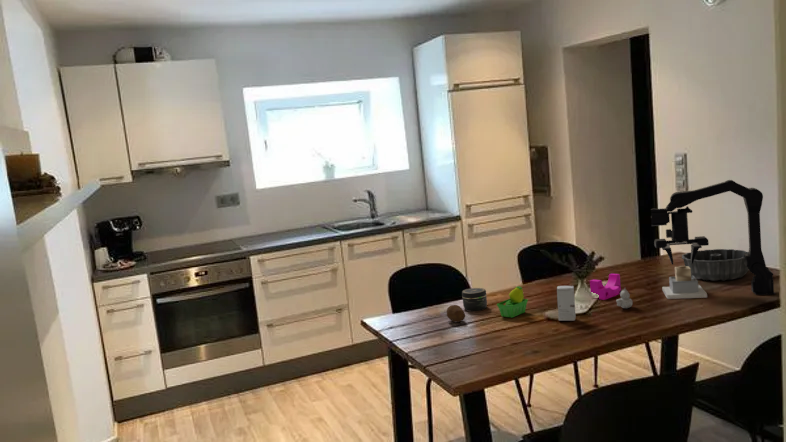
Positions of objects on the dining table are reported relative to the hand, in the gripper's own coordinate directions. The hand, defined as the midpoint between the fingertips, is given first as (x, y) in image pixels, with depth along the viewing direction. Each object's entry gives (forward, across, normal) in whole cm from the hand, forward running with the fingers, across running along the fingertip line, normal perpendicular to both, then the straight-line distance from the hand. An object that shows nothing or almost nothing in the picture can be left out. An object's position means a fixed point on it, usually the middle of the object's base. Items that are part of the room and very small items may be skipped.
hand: (682, 263), depth 245 cm
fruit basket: (+12, +64, +22) cm, 69 cm away
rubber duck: (+12, +23, +18) cm, 32 cm away
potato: (+12, +86, +29) cm, 91 cm away
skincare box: (+12, +44, +31) cm, 55 cm away
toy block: (+12, +28, -3) cm, 31 cm away
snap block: (+6, 0, 0) cm, 7 cm away
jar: (+12, +81, +11) cm, 83 cm away
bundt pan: (+12, -17, -27) cm, 34 cm away
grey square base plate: (+12, 0, 0) cm, 12 cm away
